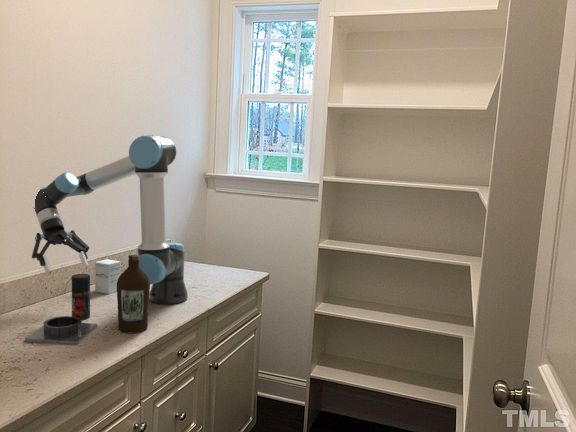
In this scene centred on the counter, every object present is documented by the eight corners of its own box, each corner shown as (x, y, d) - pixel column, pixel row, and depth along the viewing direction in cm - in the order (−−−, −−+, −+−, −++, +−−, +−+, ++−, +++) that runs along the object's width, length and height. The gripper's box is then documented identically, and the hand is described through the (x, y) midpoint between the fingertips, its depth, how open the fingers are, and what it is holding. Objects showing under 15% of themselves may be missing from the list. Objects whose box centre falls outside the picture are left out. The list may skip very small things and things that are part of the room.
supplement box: (94, 291, 210) (94, 262, 208) (106, 287, 216) (107, 258, 215) (108, 294, 207) (108, 264, 205) (120, 290, 214) (121, 260, 212)
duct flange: (97, 326, 171) (97, 315, 170) (76, 344, 155) (76, 332, 154) (50, 323, 171) (50, 312, 171) (24, 341, 155) (24, 329, 155)
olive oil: (118, 323, 175) (118, 252, 171) (150, 322, 177) (151, 252, 174) (114, 334, 164) (115, 259, 161) (148, 333, 167) (149, 259, 164)
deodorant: (93, 316, 181) (93, 275, 179) (81, 321, 175) (81, 278, 173) (80, 313, 183) (80, 273, 181) (68, 318, 177) (67, 276, 175)
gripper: (80, 226, 202) (97, 270, 194) (12, 231, 184) (28, 280, 176) (86, 215, 198) (104, 259, 190) (17, 219, 180) (34, 268, 172)
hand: (68, 270), depth 183 cm, fingers open, 13 cm apart
